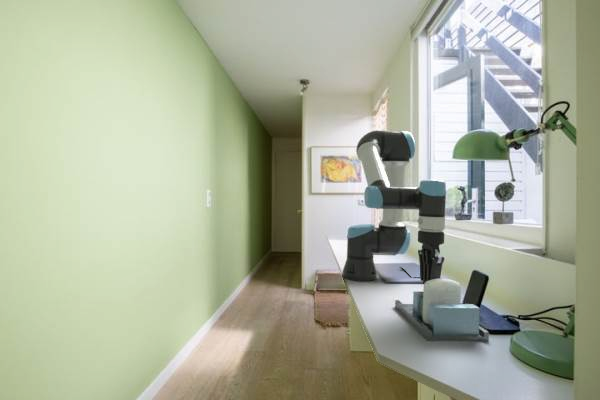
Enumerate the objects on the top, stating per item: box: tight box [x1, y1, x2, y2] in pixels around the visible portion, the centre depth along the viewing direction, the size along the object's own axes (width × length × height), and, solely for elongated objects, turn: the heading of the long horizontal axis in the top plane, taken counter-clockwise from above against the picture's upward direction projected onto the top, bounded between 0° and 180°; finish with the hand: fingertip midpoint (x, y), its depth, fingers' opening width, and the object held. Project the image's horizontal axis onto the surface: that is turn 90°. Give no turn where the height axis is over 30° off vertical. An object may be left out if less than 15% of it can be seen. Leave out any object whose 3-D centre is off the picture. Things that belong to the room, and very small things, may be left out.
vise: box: [394, 299, 490, 342], centre depth 93 cm, size 24×16×8 cm, turn 3°
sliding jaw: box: [412, 290, 423, 319], centre depth 94 cm, size 3×12×7 cm, turn 92°
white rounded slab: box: [422, 277, 462, 324], centre depth 90 cm, size 10×4×12 cm, turn 98°
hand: (428, 306), depth 98 cm, fingers closed
